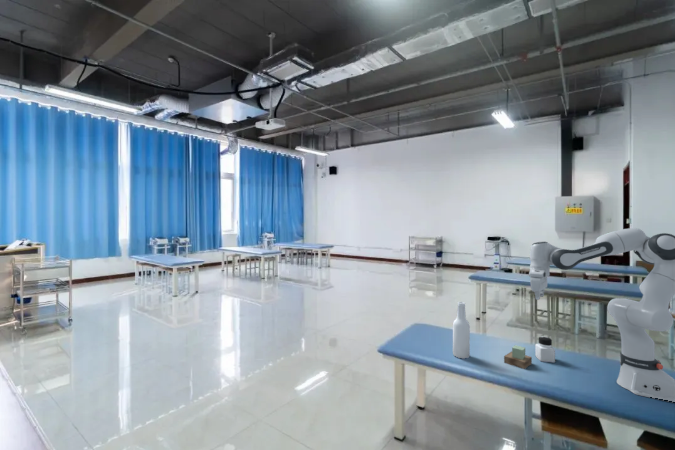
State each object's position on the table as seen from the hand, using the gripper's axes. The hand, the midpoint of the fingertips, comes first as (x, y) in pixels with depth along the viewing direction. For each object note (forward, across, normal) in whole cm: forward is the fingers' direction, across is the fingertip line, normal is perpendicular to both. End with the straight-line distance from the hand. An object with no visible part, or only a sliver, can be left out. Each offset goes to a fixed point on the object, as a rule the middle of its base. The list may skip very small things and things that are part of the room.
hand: (539, 298), depth 170 cm
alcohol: (+35, +20, -34) cm, 53 cm away
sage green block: (+31, +8, -8) cm, 33 cm away
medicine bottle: (+35, -8, +1) cm, 36 cm away
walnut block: (+35, +8, -8) cm, 37 cm away
